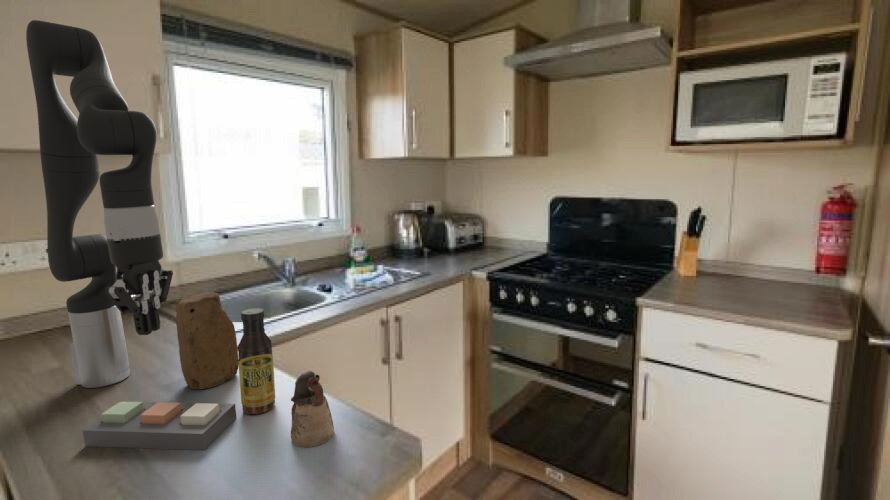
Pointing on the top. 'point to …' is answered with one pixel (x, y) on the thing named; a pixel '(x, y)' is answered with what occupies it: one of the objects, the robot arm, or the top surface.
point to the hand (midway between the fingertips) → (148, 331)
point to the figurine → (310, 412)
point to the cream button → (200, 414)
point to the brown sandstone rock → (205, 341)
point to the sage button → (122, 412)
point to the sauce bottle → (255, 364)
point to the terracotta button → (161, 413)
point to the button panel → (160, 431)
